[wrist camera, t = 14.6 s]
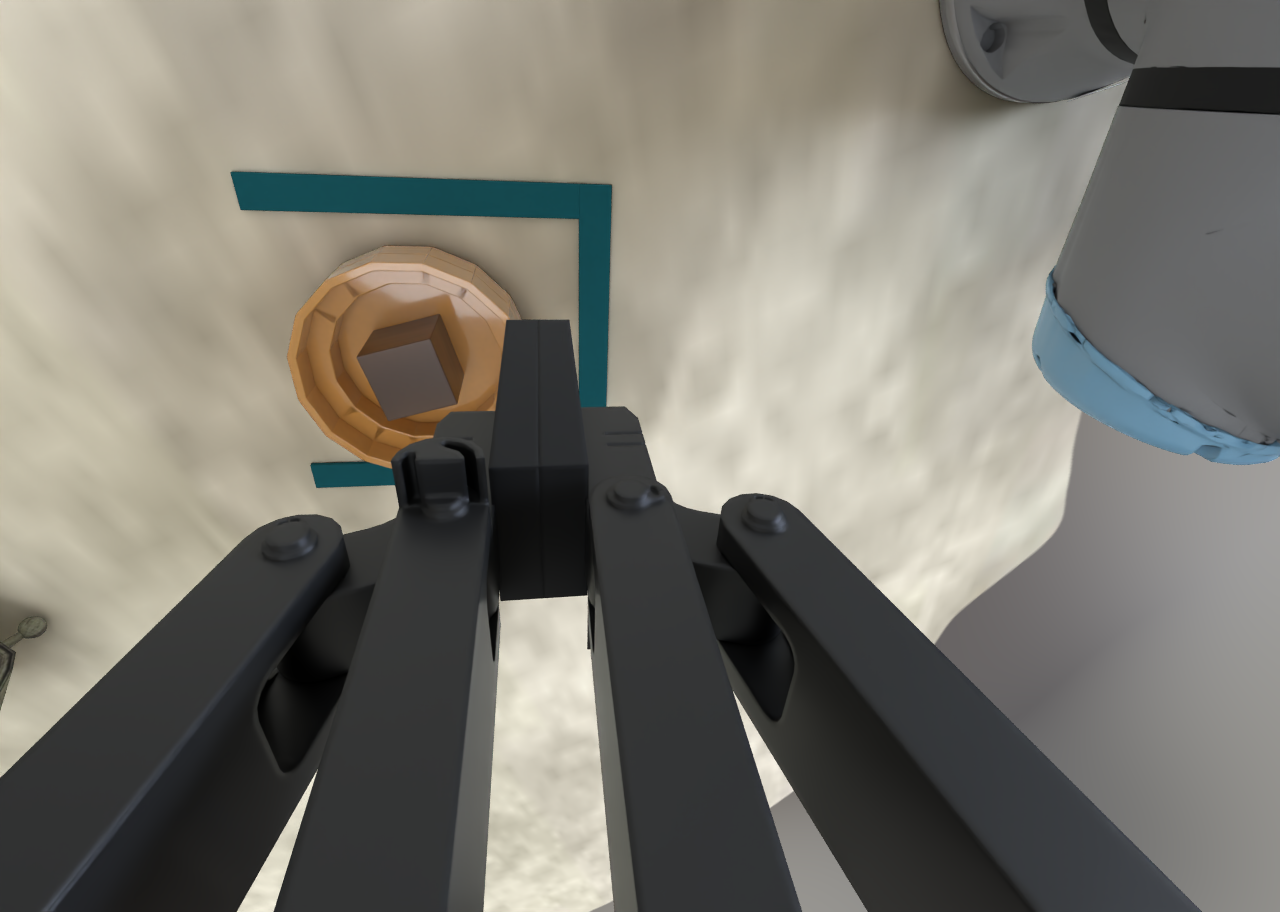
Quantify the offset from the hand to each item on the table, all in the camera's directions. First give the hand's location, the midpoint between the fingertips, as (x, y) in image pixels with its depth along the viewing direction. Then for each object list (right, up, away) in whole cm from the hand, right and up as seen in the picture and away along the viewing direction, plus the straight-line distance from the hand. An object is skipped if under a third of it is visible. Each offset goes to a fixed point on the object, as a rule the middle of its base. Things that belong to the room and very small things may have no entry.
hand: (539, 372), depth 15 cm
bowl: (-12, +5, +26) cm, 29 cm away
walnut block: (-12, +5, +26) cm, 29 cm away
